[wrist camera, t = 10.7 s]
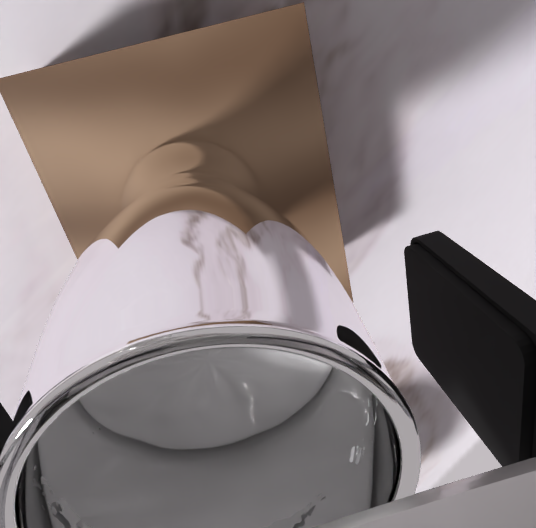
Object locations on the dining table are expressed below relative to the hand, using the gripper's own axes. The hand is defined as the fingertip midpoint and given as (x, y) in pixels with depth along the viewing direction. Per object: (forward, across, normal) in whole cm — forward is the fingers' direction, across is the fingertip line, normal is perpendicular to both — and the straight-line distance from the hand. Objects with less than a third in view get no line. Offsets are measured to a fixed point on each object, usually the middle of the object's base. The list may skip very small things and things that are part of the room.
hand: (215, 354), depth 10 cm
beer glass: (+12, 0, +1) cm, 12 cm away
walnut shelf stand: (+17, 0, +1) cm, 17 cm away
